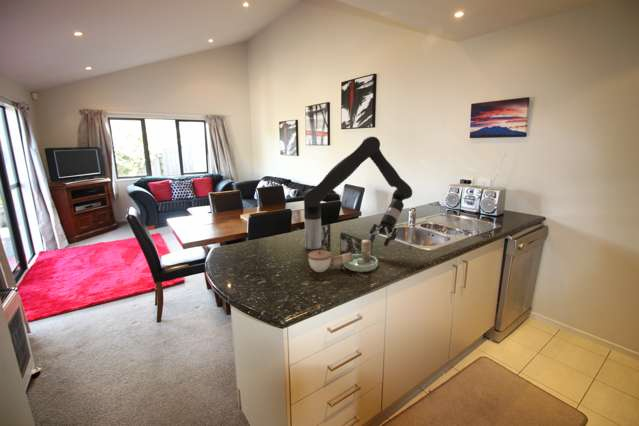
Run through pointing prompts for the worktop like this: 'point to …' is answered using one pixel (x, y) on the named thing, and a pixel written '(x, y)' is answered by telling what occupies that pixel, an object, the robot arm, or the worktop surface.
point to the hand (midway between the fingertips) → (377, 243)
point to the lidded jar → (319, 260)
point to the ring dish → (361, 263)
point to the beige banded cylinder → (342, 259)
